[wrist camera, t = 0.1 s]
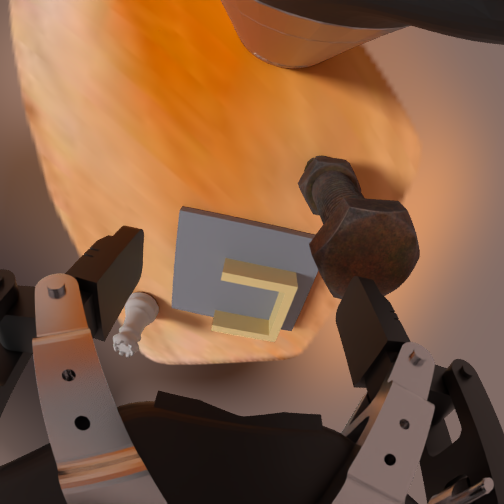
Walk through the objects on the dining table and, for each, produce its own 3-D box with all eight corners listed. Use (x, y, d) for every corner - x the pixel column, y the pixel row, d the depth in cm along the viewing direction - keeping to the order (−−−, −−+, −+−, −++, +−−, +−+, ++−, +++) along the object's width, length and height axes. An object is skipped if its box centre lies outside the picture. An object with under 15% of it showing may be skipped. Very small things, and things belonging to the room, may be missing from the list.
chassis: (182, 206, 28) (172, 221, 25) (327, 237, 29) (334, 256, 26) (173, 302, 35) (166, 322, 32) (291, 325, 36) (292, 346, 33)
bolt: (352, 147, 24) (436, 215, 11) (346, 197, 27) (409, 300, 14) (289, 143, 24) (318, 209, 12) (287, 195, 27) (307, 302, 14)
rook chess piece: (132, 314, 36) (112, 359, 30) (124, 288, 34) (99, 334, 27) (162, 317, 36) (145, 364, 29) (156, 291, 34) (135, 339, 27)
